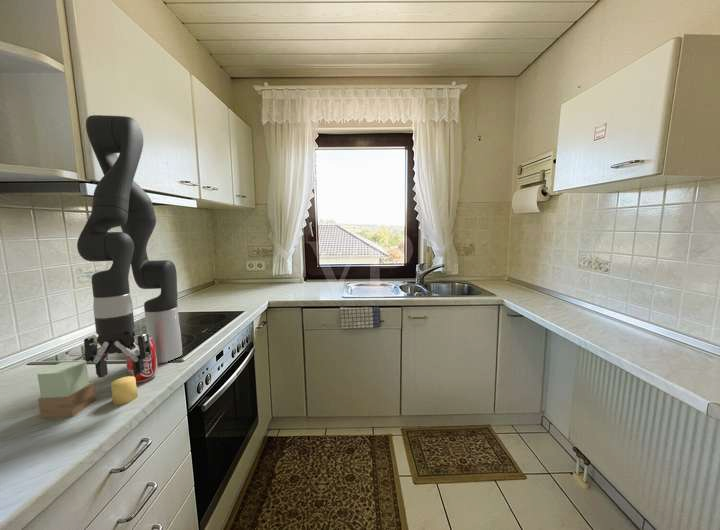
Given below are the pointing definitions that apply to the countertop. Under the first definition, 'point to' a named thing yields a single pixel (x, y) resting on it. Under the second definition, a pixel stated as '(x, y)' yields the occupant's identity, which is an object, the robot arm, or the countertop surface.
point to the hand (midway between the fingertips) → (120, 375)
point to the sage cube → (63, 379)
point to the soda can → (149, 364)
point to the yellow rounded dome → (124, 390)
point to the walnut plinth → (67, 403)
